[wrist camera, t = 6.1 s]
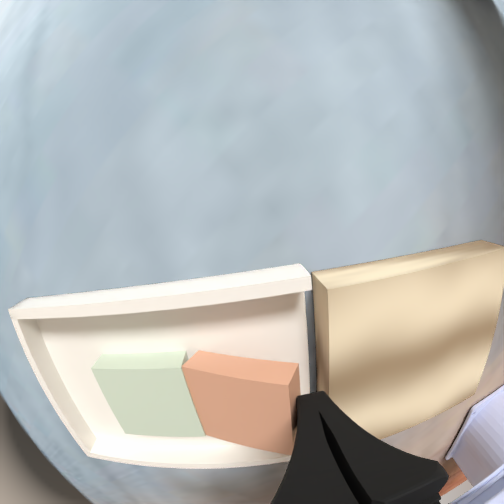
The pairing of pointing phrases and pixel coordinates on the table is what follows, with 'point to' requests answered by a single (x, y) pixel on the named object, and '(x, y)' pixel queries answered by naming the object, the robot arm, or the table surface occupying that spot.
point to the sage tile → (149, 393)
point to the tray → (162, 340)
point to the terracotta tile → (245, 399)
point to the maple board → (406, 333)
